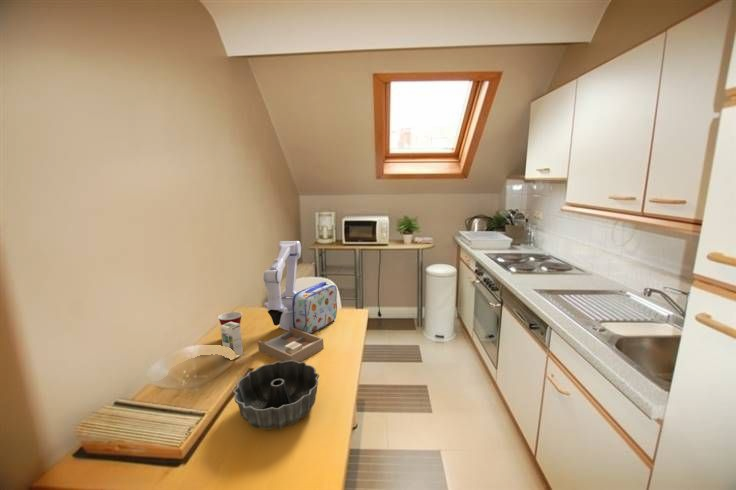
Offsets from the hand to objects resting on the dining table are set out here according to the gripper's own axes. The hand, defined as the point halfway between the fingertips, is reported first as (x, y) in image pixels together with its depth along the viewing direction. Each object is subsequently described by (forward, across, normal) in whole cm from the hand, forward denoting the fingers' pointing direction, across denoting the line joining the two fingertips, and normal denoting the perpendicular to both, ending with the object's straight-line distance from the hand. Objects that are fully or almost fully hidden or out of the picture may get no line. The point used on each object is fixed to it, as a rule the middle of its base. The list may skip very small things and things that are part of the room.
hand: (276, 324), depth 151 cm
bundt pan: (+10, +37, -28) cm, 47 cm away
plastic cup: (+10, -23, -9) cm, 26 cm away
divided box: (+9, +9, 0) cm, 13 cm away
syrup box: (+10, -7, -18) cm, 22 cm away
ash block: (+7, +15, -4) cm, 17 cm away
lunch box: (+10, +1, +24) cm, 26 cm away
